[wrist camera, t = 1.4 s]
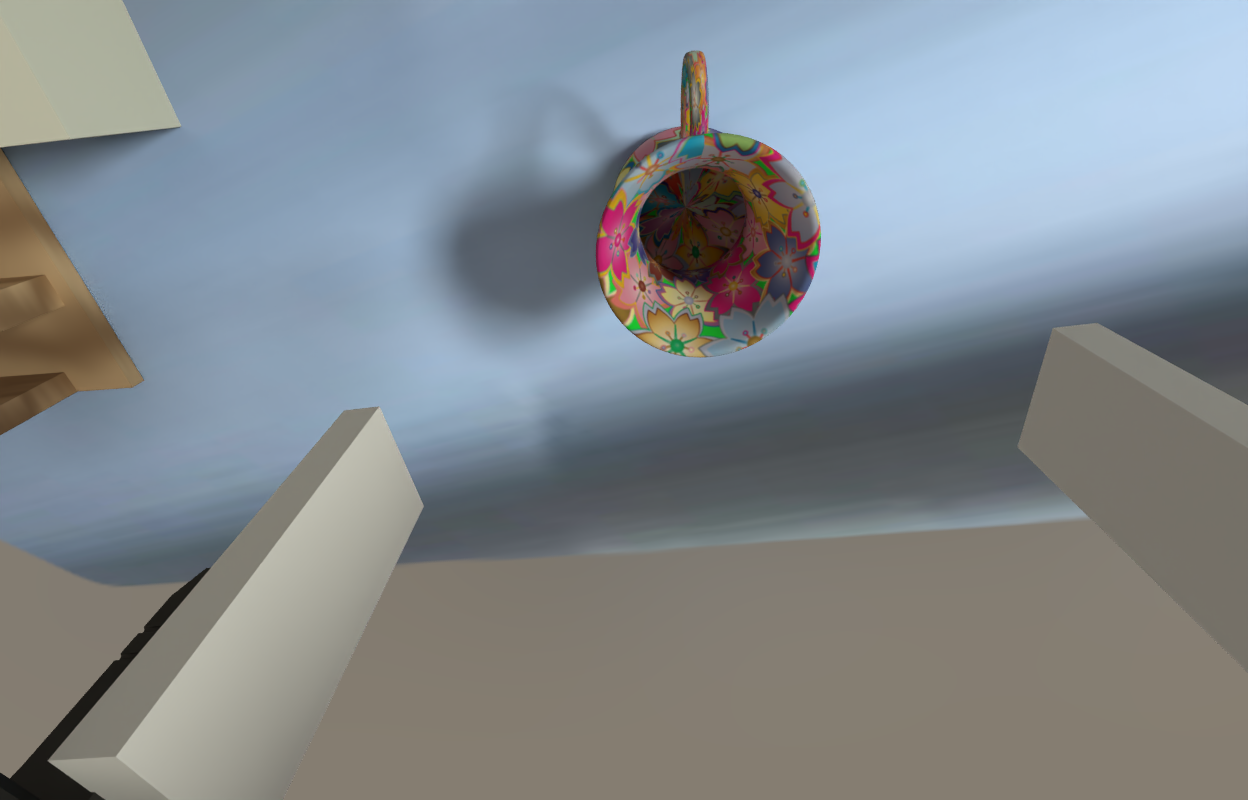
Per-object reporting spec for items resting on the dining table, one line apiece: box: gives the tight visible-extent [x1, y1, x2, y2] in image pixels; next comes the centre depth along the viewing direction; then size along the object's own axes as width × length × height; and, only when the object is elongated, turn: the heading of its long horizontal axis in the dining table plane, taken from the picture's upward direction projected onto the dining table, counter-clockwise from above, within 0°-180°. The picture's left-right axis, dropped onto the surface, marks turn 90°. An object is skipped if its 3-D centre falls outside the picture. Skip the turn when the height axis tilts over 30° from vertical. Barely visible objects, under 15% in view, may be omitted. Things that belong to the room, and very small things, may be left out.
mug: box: [596, 51, 821, 357], centre depth 26 cm, size 12×9×11 cm
